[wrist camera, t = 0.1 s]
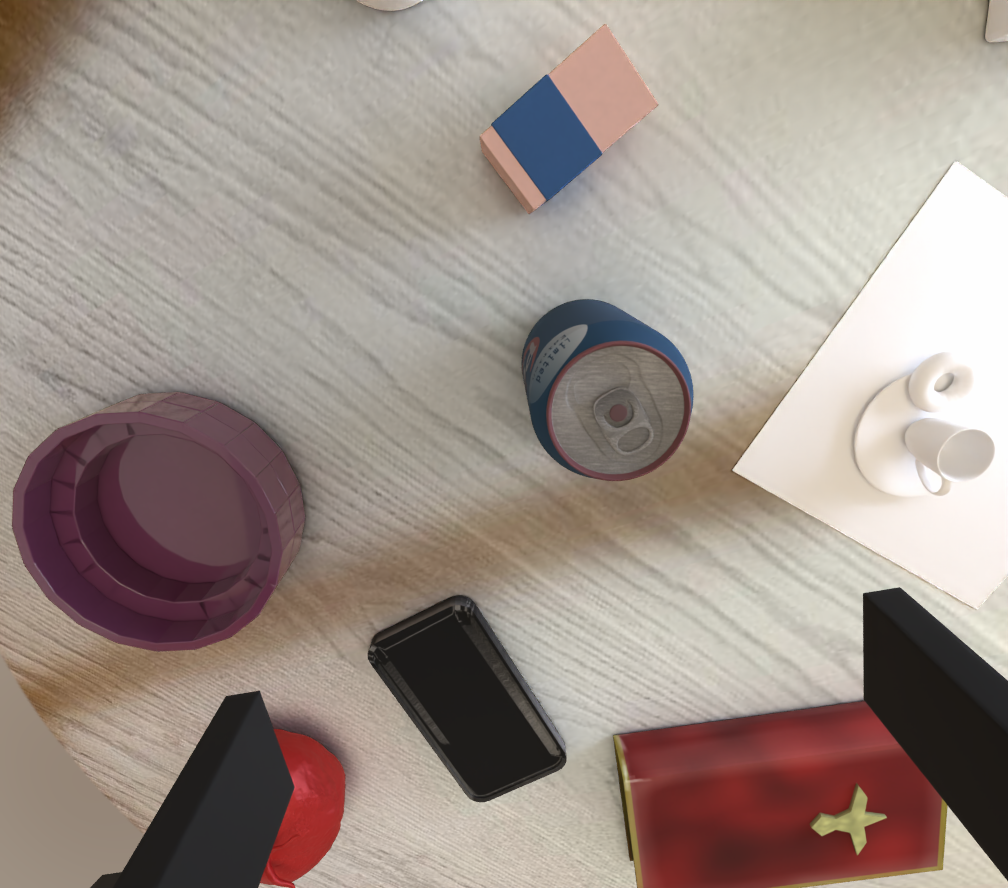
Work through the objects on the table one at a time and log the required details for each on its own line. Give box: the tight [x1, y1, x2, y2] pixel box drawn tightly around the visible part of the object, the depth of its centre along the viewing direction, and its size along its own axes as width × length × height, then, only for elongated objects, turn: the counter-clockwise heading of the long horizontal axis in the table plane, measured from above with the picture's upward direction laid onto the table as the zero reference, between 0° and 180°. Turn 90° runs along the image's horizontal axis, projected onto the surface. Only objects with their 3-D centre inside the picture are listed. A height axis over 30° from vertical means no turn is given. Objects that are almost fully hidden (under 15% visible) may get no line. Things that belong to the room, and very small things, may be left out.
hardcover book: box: [613, 701, 947, 888], centre depth 44 cm, size 12×21×4 cm, turn 99°
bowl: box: [12, 392, 305, 652], centre depth 37 cm, size 14×14×5 cm
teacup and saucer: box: [853, 350, 997, 499], centre depth 36 cm, size 9×8×4 cm
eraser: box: [480, 24, 658, 214], centre depth 30 cm, size 4×7×5 cm, turn 129°
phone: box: [368, 596, 566, 802], centre depth 43 cm, size 8×1×15 cm
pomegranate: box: [260, 729, 345, 888], centre depth 41 cm, size 10×10×9 cm
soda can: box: [522, 299, 693, 481], centre depth 31 cm, size 7×7×12 cm
